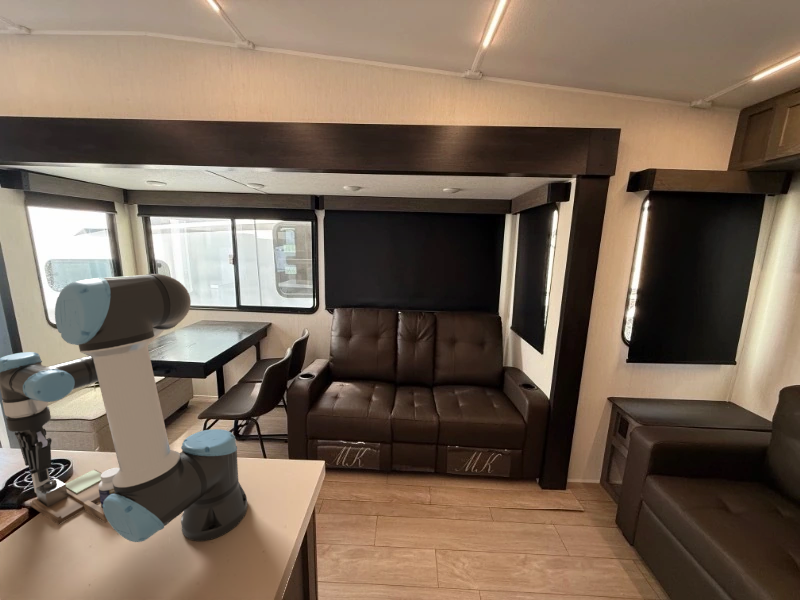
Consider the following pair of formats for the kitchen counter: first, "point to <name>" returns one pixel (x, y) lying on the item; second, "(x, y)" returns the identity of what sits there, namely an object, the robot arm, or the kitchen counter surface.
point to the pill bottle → (107, 484)
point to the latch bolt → (51, 492)
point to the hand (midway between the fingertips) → (43, 489)
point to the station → (75, 499)
